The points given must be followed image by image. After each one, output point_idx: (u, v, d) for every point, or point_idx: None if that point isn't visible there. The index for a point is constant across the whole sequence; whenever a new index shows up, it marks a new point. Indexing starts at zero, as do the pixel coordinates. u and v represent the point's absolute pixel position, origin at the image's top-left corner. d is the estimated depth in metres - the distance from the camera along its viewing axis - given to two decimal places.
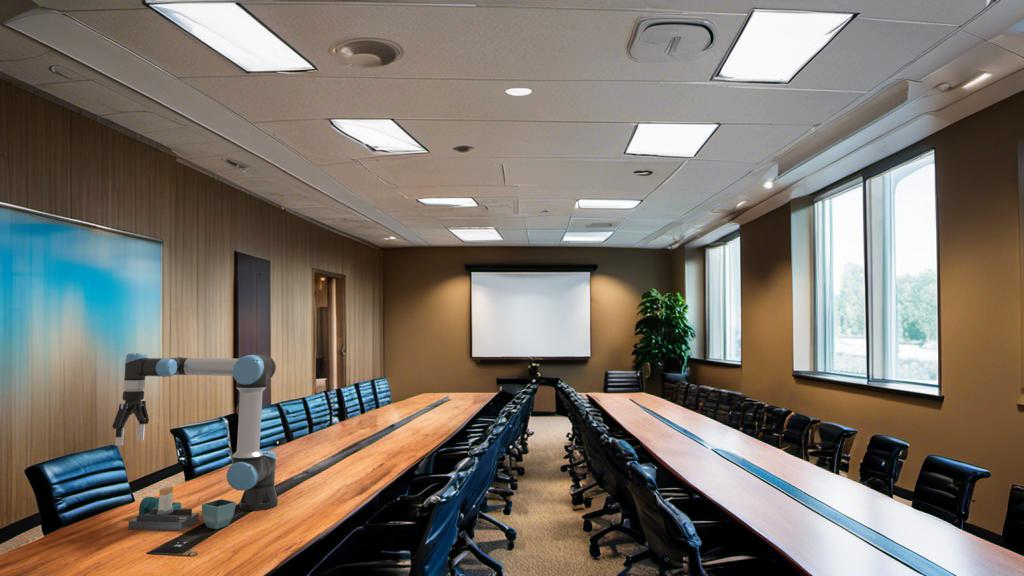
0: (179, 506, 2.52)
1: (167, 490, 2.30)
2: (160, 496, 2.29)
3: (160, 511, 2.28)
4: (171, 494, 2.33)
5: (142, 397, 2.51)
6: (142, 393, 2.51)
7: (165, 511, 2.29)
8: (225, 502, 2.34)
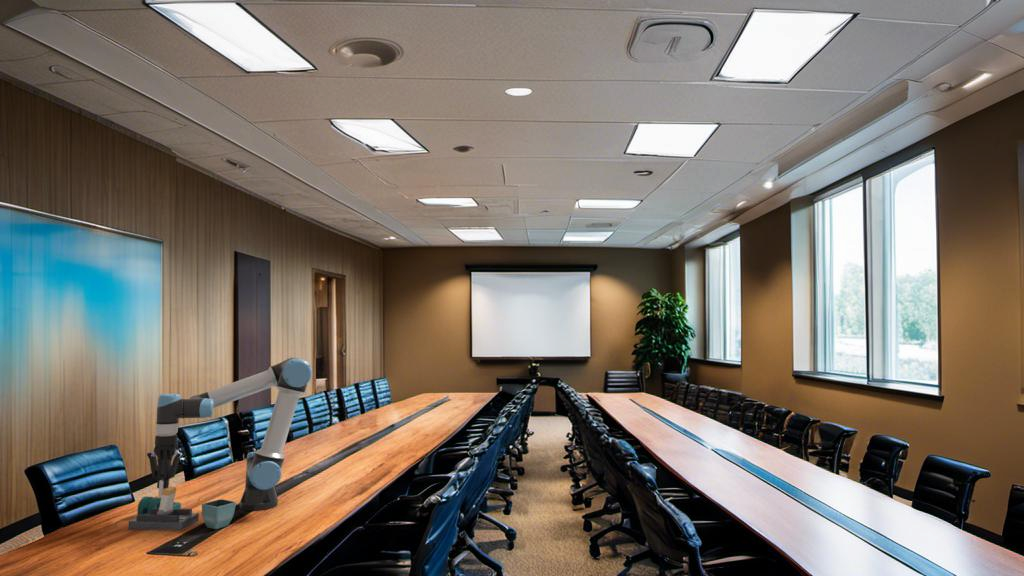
0: (178, 506, 2.52)
1: (170, 491, 2.30)
2: (163, 496, 2.29)
3: (160, 511, 2.28)
4: (173, 495, 2.33)
5: (161, 443, 2.30)
6: (160, 439, 2.30)
7: (165, 512, 2.29)
8: (225, 502, 2.34)
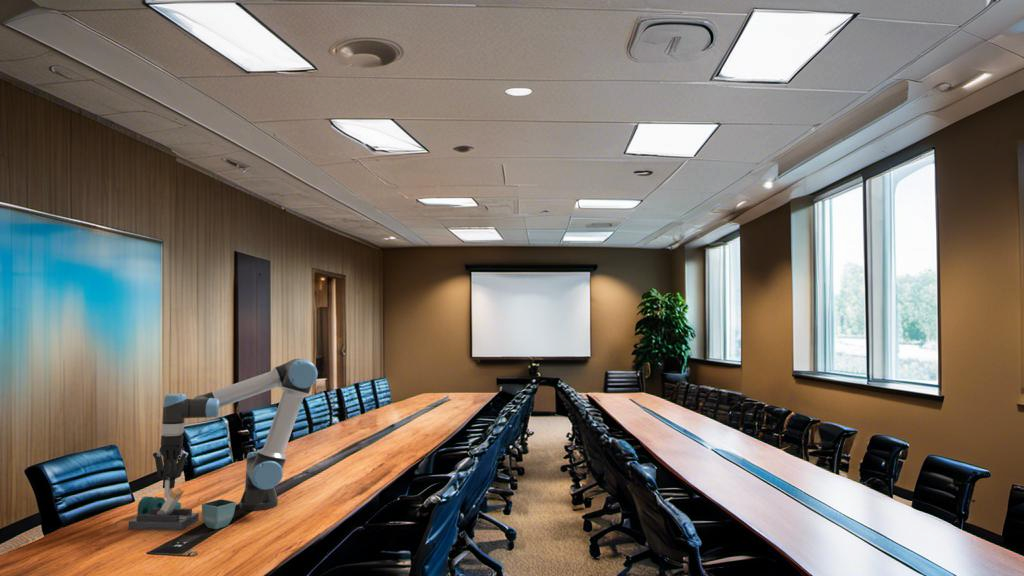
0: (178, 506, 2.52)
1: (177, 495, 2.30)
2: (169, 498, 2.29)
3: (161, 511, 2.28)
4: (178, 498, 2.33)
5: (167, 443, 2.30)
6: (166, 439, 2.30)
7: (166, 513, 2.29)
8: (225, 502, 2.34)
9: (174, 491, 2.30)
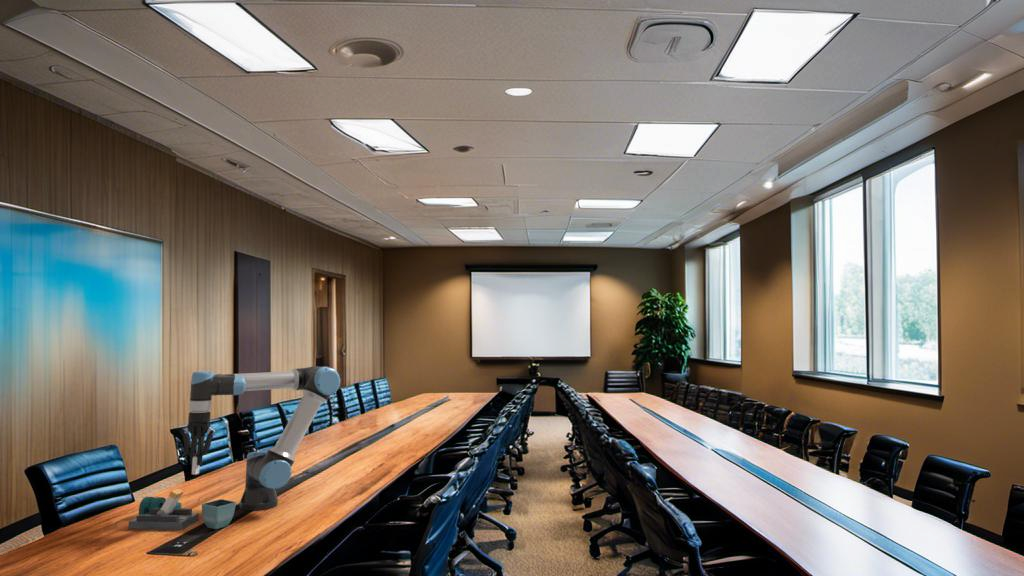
0: (179, 506, 2.52)
1: (177, 495, 2.30)
2: (169, 498, 2.29)
3: (161, 511, 2.28)
4: (178, 498, 2.33)
5: (194, 420, 2.31)
6: (194, 415, 2.31)
7: (166, 513, 2.29)
8: (225, 502, 2.34)
9: (174, 491, 2.30)
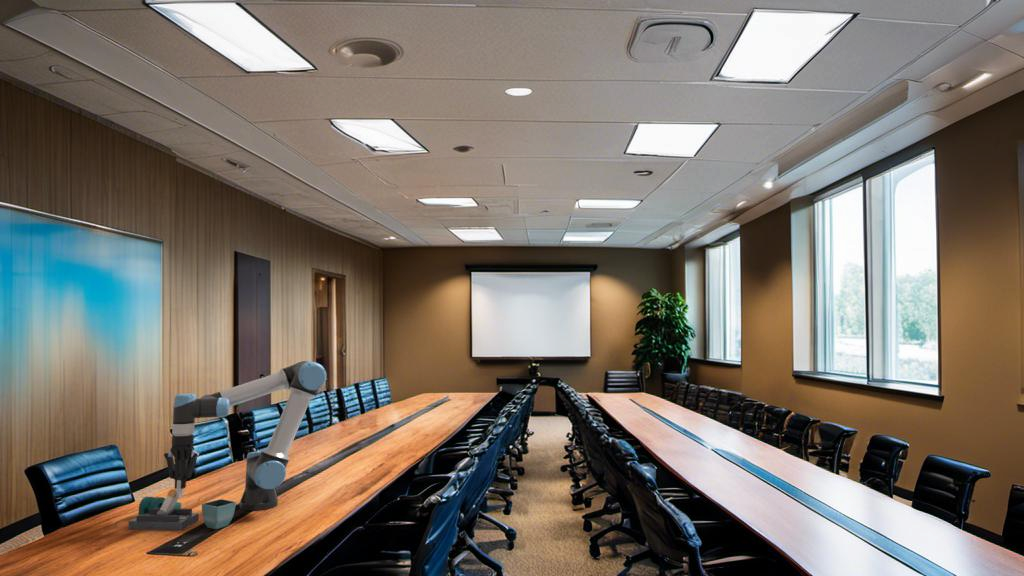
0: (179, 506, 2.52)
1: (175, 493, 2.30)
2: (167, 497, 2.29)
3: (161, 511, 2.28)
4: None
5: (178, 443, 2.30)
6: (177, 439, 2.30)
7: (165, 513, 2.29)
8: (225, 502, 2.34)
9: (172, 490, 2.30)
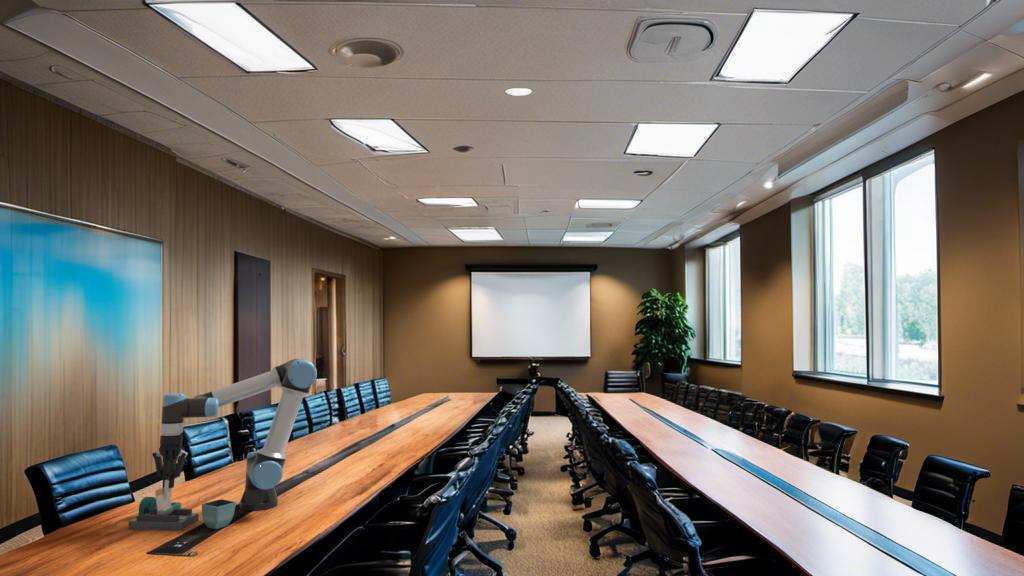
0: (179, 506, 2.52)
1: (163, 490, 2.30)
2: (157, 497, 2.29)
3: (159, 511, 2.28)
4: None
5: (166, 443, 2.30)
6: (166, 438, 2.30)
7: (165, 510, 2.29)
8: (225, 502, 2.34)
9: (158, 489, 2.30)
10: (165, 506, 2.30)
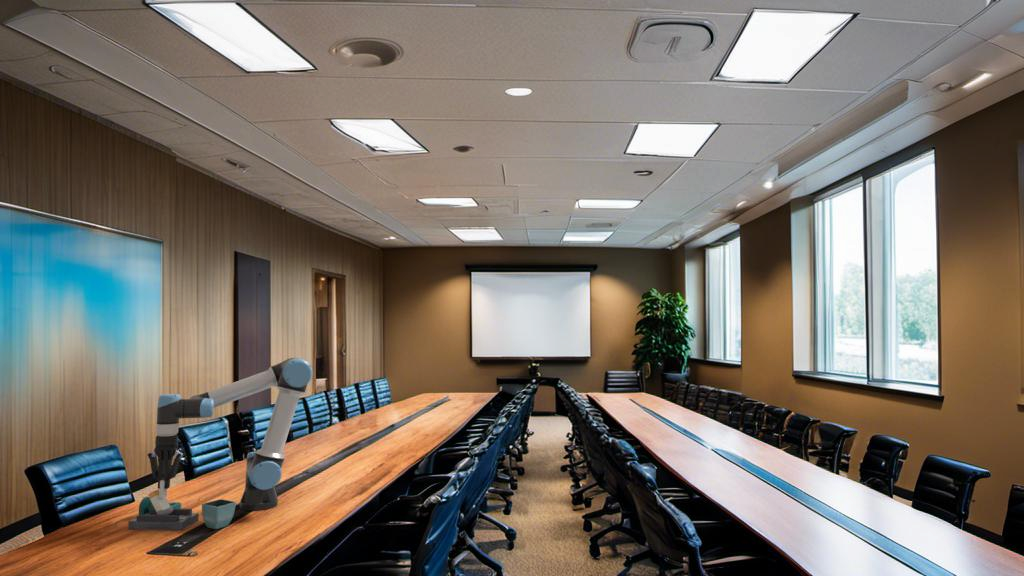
0: (179, 506, 2.52)
1: (155, 491, 2.30)
2: (152, 499, 2.29)
3: (159, 511, 2.28)
4: None
5: (161, 443, 2.30)
6: (161, 439, 2.30)
7: (163, 510, 2.29)
8: (225, 502, 2.34)
9: None
10: (163, 506, 2.30)
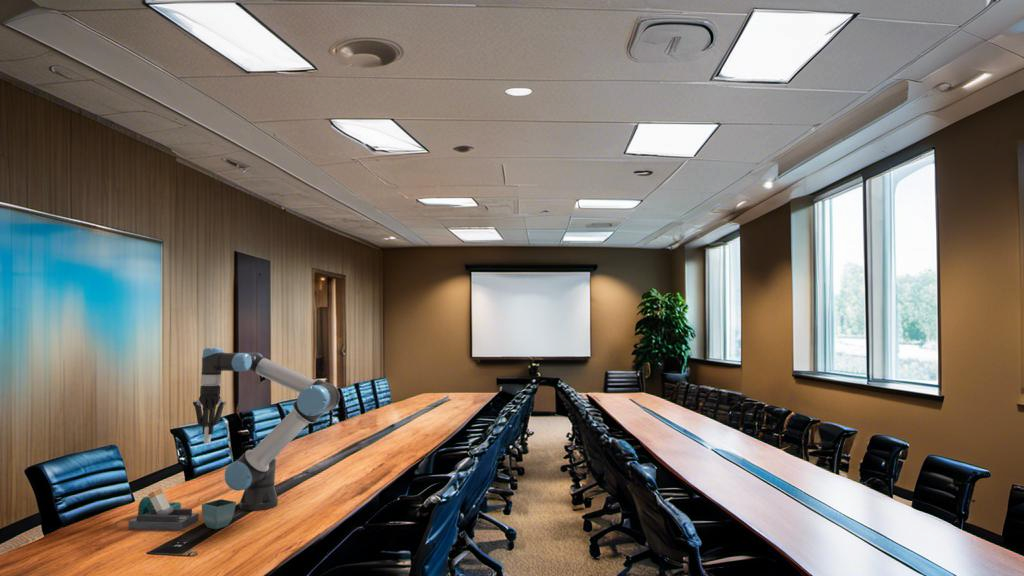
0: (179, 506, 2.52)
1: (155, 491, 2.30)
2: (152, 499, 2.29)
3: (159, 511, 2.28)
4: (163, 495, 2.33)
5: (206, 392, 2.48)
6: (205, 388, 2.48)
7: (163, 509, 2.29)
8: (225, 502, 2.34)
9: None
10: (163, 506, 2.30)
